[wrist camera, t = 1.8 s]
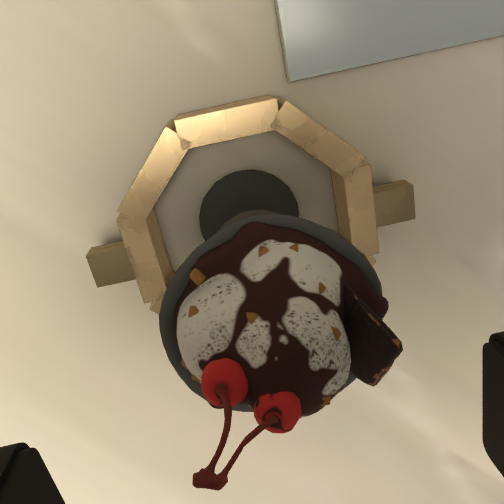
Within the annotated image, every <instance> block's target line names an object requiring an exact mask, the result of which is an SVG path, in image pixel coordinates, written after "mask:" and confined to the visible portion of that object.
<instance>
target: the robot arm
mask: <svg viewBox="0 0 504 504" xmlns="http://www.w3.org/2000/svg"><path fill="white" fill-rule="evenodd" d="M483 444H484V447H485V450H486V452H487V454H488V456H489V458H490V459H491V461H492V462H493V463H494V465H495V466H496V467H497V469H498V470H499V471H500V473H501V474H502V476H503V477H504V332H499V333H495V334H492V335H491V336H490V338H489V343H485V344H484V345H483ZM0 504H65V502H64V500H63V498H62V496H61V494H60V492H59V490H58V489H57V487H56V485H55V483H54V481H53V479H52V477H51V475H50V473H49V471H48V469H47V467H46V465H45V463H44V462H43V460H42V458H41V456H40V454H39V452H38V451H37V449H36V448H30V447H29V446H28V445H27V444H26V443H17V444H12V445H8V446H4V447H0Z"/></svg>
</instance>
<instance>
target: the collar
mask: <svg viewBox="0 0 504 504" xmlns="http://www.w3.org/2000/svg"><path fill="white" fill-rule="evenodd" d="M272 130H276V131H277V132H279V133H280V134H282V135H283V136H285V137H286V138H287V139H289V140H290V141H292V142H293V143H295V144H296V145H298V146H299V147H301V148H302V149H304V150H305V151H306V152H308V153H309V154H311V155H312V156H314V157H315V158H317V159H318V160H320V161H321V162H322V163H324V164H325V165H327V166H328V167H330V168H331V175H332V182H333V190H334V197H335V205H336V212H337V220H338V227H339V235H340V236H341V237H343V238H344V239H346V240H347V241H349V242H350V243H351V244H352V245H354V246H355V247H356V248H357V249H358V250H359V251H360V252H362V253H363V254H364V255H365V256H366V258H367V259H368V261H369V262H370V264H371V265H372V266H373V265H374V263H375V262H376V260H375V258H374V257H373V256H372V254H376V253H379V247H378V237H377V227H380V226H384V225H389V224H394V223H398V222H403V221H408V220H412V219H415V206H414V190H413V185H412V184H411V183H409V182H407V181H406V180H401V181H397V182H392V183H387V184H383V185H378V186H374V187H373V186H372V176H371V166H370V164H368V163H366V162H365V161H364V159H365V158H366V157H365V156H364V155H362V154H361V153H359V152H358V151H357V150H355V149H354V148H352V147H351V146H350V145H348V144H347V143H345V142H344V141H343V140H341V139H340V138H338V137H337V136H336V135H334V134H333V133H331V132H330V131H329V130H327V129H326V128H324V127H323V126H322V125H320V124H319V123H317V122H316V121H314V120H313V119H312V118H310V117H309V116H307V115H306V114H305V113H303V112H302V111H300V110H299V109H298V108H296V107H295V106H293V105H292V104H291V103H289V102H288V101H286V100H284V99H282V98H280V97H278V98H277V99H276V98H275V97H273V96H271V95H266V96H261V97H257V98H252V99H247V100H243V101H238V102H234V103H229V104H224V105H220V106H215V107H211V108H206V109H202V110H197V111H192V112H188V113H183V114H179V115H178V116H177V117H176V119H175V120H174V121H173V120H171V121H170V122H169V123H168V125H167V126H166V127H165V129H164V131H163V133H162V134H161V136H160V138H159V140H158V141H157V143H156V145H155V146H154V148H153V150H152V152H151V153H150V155H149V157H148V159H147V160H146V162H145V164H144V165H143V167H142V169H141V171H140V172H139V174H138V176H137V178H136V179H135V181H134V183H133V184H132V186H131V188H130V190H129V191H128V193H127V195H126V197H125V198H124V200H123V202H122V204H121V205H120V207H119V209H118V210H117V212H119V213H120V215H119V217H118V218H117V220H116V221H117V224H118V227H119V230H120V233H121V236H122V239H123V241H120V242H115V243H111V244H106V245H101V246H97V247H92V248H91V249H90V250H89V252H88V253H87V255H86V258H87V261H88V263H89V266H90V269H91V271H92V274H93V277H94V279H95V282H96V285H97V287H102V286H107V285H112V284H116V283H121V282H125V281H130V280H135V279H136V280H137V283H138V286H139V289H140V292H141V295H142V298H143V301H144V304H145V303H150V302H152V304H151V307H150V310H151V311H153V312H155V313H157V314H159V313H160V308H161V303H162V300H163V297H164V294H165V292H166V289H167V286H168V284H169V282H170V281H171V279H172V278H173V276H174V275H175V273H176V272H174V271H172V268H171V264H170V261H169V258H168V254H167V251H166V248H165V244H164V241H163V238H162V234H161V231H160V228H159V224H158V221H157V218H156V214H155V211H154V205H155V203H156V202H157V200H158V198H159V197H160V195H161V193H162V192H163V190H164V188H165V187H166V185H167V183H168V182H169V180H170V178H171V177H172V175H173V173H174V172H175V170H176V168H177V167H178V165H179V163H180V162H181V160H182V158H183V157H184V155H185V154H186V152H187V150H188V149H190V148H194V147H199V146H204V145H208V144H213V143H217V142H222V141H227V140H231V139H236V138H240V137H245V136H250V135H254V134H259V133H263V132H268V131H272Z"/></svg>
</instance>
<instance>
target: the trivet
mask: <svg viewBox="0 0 504 504" xmlns="http://www.w3.org/2000/svg"><path fill="white" fill-rule="evenodd" d="M275 6H276V12H277V19H278V25H279V31H280V38H281V44H282V50H283V56H284V63H285V69H286V75H287V81H289V82H291V81H296V80H301V79H305V78H310V77H314V76H319V75H323V74H328V73H333V72H337V71H342V70H346V69H351V68H355V67H360V66H365V65H369V64H374V63H378V62H383V61H388V60H392V59H397V58H401V57H406V56H410V55H415V54H420V53H424V52H429V51H433V50H438V49H442V48H447V47H452V46H456V45H461V44H465V43H470V42H475V41H479V40H484V39H488V38H493V37H497V36H502V35H504V0H275Z"/></svg>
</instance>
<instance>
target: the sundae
mask: <svg viewBox="0 0 504 504" xmlns="http://www.w3.org/2000/svg"><path fill="white" fill-rule="evenodd" d="M199 218H200V227H201V231H202V235H203V237H204V239H205V240H206V241H205V242H204V243H202V244H201V245H200V246H199V247H197V248H196V249H195V250H194V251H193V252H192V253H191V255H190V256H189V257H188V258H187V259H186V260H185V262H184V263H183V264H182V265H181V266H180V268H179V269H178V271H177V272H176V273H175V275H174V276H173V278H172V279H171V281H170V282H169V284H168V286H167V289H166V292H165V294H164V297H163V300H162V303H161V308H160V313H159V325H160V333H161V337H162V342H163V345H164V348H165V350H166V353H167V356H168V358H169V361H170V362H171V364H172V365H173V367H174V369H175V370H176V372H177V373H178V375H179V376H180V377H181V379H182V380H183V381H184V382H185V383H186V385H187V386H188V387H189V388H190V389H191V390H192V391H193V392H195V393H196V394H198V395H199V396H200V397H202V398H203V399H205V400H206V401H208V403H209V404H210V405H211V406H212V407H213V408H217V409H222V408H224V415H225V422H224V429H223V433H222V436H221V440H220V443H219V446H218V448H217V450H216V453H215V455H214V457H213V458H212V460H211V462H210V464H209V465H208V466H207V467H206V468H205V469H201V470H200V471H199V472H197V473H194V474H193V486H194V487H196V488H207V489H212V490H221V489H222V488H223V487H224V485H225V484H226V483H227V482H228V478H227V475H228V472H229V470H230V469H231V467H232V466H233V464H234V463H235V461H236V459H237V458H238V456H239V454H240V453H241V451H242V449H243V447H244V446H245V445H246V444H247V443H249V442H250V441H251V440H252V439H253V438H254V437H256V436H257V435H258V434H259V433H260V432H262V431H263V430H264V429H266V430H268V431H270V432H272V433H286V432H289V431H291V430H292V429H293V427H294V426H295V424H296V423H297V421H298V420H299V418H302V417H306V416H309V415H312V414H314V413H316V412H318V411H319V410H320V409H322V408H323V407H324V406H325V405H329V404H330V400H331V399H333V398H334V397H335V396H336V395H337V394H338V393H339V392H341V391H342V390H343V389H344V388H345V387H347V386H348V385H349V384H350V383H351V382H353V381H354V380H355V379H356V378H358V379H360V380H361V381H363V382H364V383H366V384H369V385H371V386H375V385H377V383H378V382H379V381H380V380H381V379H382V377H383V376H384V375H385V374H386V373H387V372H388V371H389V369H390V368H391V366H392V364H393V362H394V360H395V359H396V358H397V357H398V356H399V355H400V353H401V352H402V351H403V348H402V342H401V341H400V340H399V338H398V337H397V336H396V335H395V334H394V333H393V332H392V331H391V330H390V328H389V327H388V326H387V325H386V324H385V323H384V322H383V321H382V318H383V317H384V316H385V314H386V313H387V310H388V301H387V300H386V298H384V297H383V296H382V289H381V283H380V281H379V279H378V276H377V274H376V272H375V270H374V269H373V267H372V265H371V264H370V262H369V261H368V259H367V258H366V256H365V255H364V254H363V253H362V252H360V251H359V250H358V249H357V248H356V247H355V246H354V245H352V244H351V243H350V242H349V241H347V240H346V239H344V238H343V237H341V236H340V235H339V234H337V233H336V232H334V231H333V230H331V229H328V228H326V227H323V226H321V225H318V224H316V223H313V222H311V221H308V220H305V219H301V218H299V212H298V206H297V202H296V200H295V198H294V195H293V194H292V192H291V191H290V189H289V187H288V186H287V185H285V184H284V183H283V182H282V181H281V180H280V179H278V178H277V177H275V176H274V175H271V174H268V173H265V172H262V171H257V170H245V171H239V172H234V173H232V174H230V175H228V176H226V177H224V178H222V179H221V180H219V181H218V182H216V183H215V184H214V185H213V187H212V188H211V189H210V190H209V192H208V193H207V195H206V196H205V198H204V200H203V203H202V206H201V211H200V216H199ZM232 410H235V411H242V412H254V417H255V419H256V421H257V423H258V424H259V426H257V427H256V428H255V429H254V430H253V431H252V432H251V433H249V434H248V435H247V436H246V437H245V438H244V439H243V441H242V442H241V444H240V445H239V447H238V448H237V450H236V451H235V453H234V454H233V456H232V457H231V459H230V461H229V462H228V464H227V465H226V467H225V468H224V469H223V471H222V472H221V473H219V474H218V475H216V474H215V473H214V470H215V466H216V463H217V461H218V459H219V457H220V455H221V453H222V451H223V449H224V446H225V444H226V441H227V437H228V434H229V431H230V426H231V416H232Z"/></svg>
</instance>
